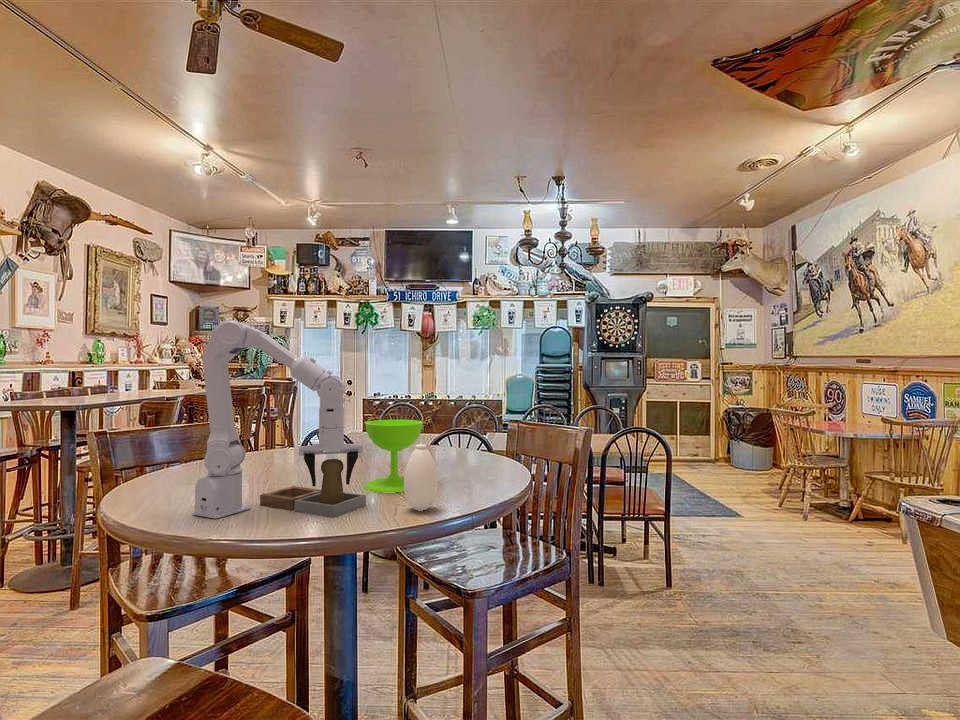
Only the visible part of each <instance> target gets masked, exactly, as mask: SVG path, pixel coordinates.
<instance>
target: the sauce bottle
mask: <svg viewBox="0 0 960 720" xmlns="http://www.w3.org/2000/svg"><path fill="white" fill-rule="evenodd" d="M419 437H420V438H419V444H418V443H417V444H416V445H415V449H414V450H413V452H412V453H411V455H410V456H409V458H408V460H407V464H406V467H405V469H404V470H405V471H404V477H403V478H404V497H405V499H406V501H407V503H408V505H409V506H410V507H412V508H413V510H415V511H417V510H418V511H417V512H424V511H423V510H428V509H429V506H432V505H433V503H434V501H435V499H436V498H437V494H438V489H439V477H438V475H439V474H438V470H437V467H436V463H435V461H434V457H433V456H432V454H431V452H430V451H429V449H428V446H427V444H423V435H422V433H420V436H419Z"/></svg>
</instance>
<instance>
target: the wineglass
mask: <svg viewBox="0 0 960 720" xmlns="http://www.w3.org/2000/svg"><path fill="white" fill-rule="evenodd" d="M423 423H424V422H423V421H422V420H415V419H379V420H370V421H366V422H365V423H364V424H365V431H366V434H367V435H368V438H369V439H370V440H371V442H372V443H373V444H374V445H376V446H377V447H378V448H380V449H381V450H385V451H387V452H390V474H389V475H388V477H382V478H376V479H372V480H370V481H369V482H367V483H366V484H365V486H364V489H365V490H366V491H368V490H369V492H371V491H373V492H372V493H377V492H404V477H403V476H402V477H401V476H400V474H399V473H398V464H399V463H398V461H399V460H398V457H399V456H398V452H400V451H403V450H405V449H407V448H410V447H411V446H412V445H413V444H414V443H416V441H417V440H418V439H419V437H420V436H421V434H422V433H421V432H422V431H423V430H422V429H423V425H424V424H423ZM404 493H405V492H404Z"/></svg>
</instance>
